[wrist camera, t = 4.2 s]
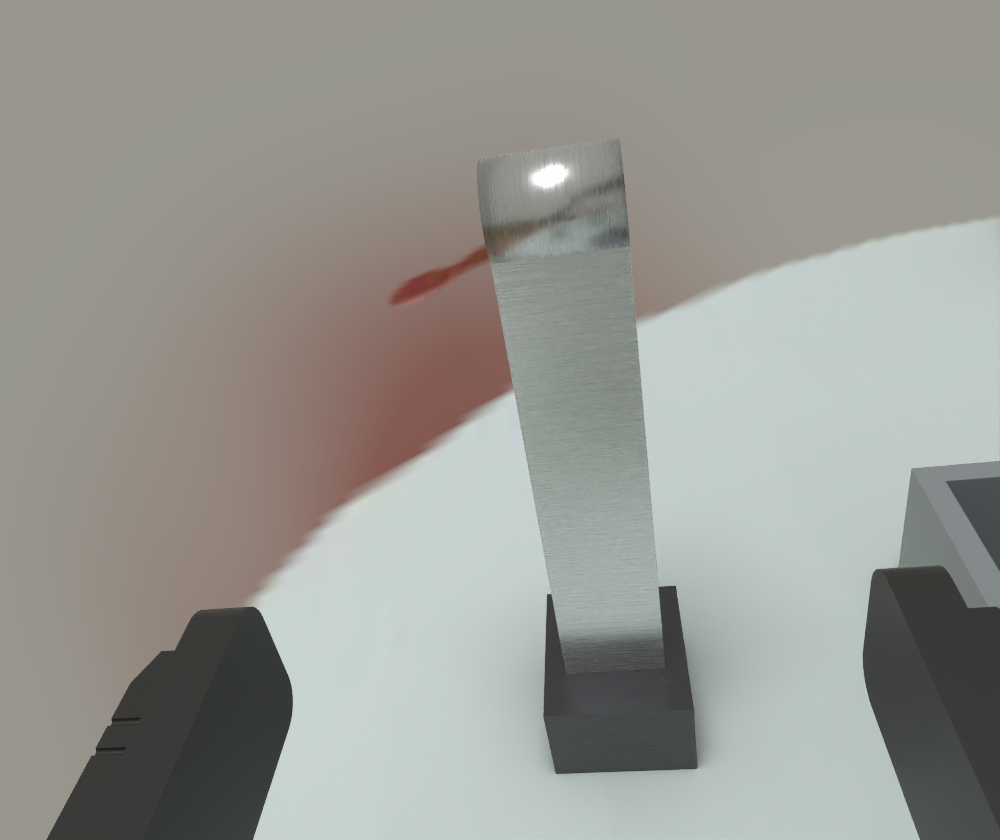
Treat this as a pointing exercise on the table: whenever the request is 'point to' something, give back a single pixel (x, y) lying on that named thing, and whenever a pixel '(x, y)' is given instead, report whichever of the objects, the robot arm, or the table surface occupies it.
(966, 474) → the holder
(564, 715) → the brushed steel column
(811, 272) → the table surface
